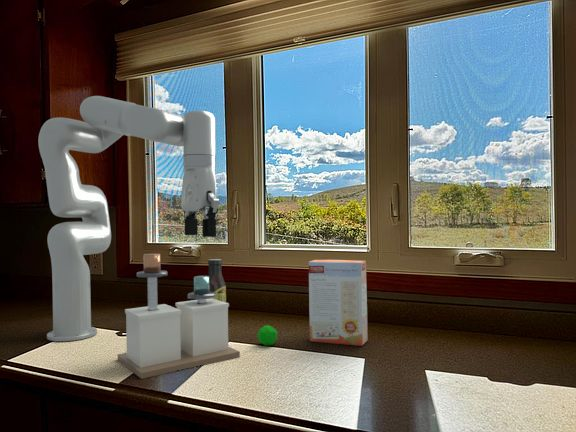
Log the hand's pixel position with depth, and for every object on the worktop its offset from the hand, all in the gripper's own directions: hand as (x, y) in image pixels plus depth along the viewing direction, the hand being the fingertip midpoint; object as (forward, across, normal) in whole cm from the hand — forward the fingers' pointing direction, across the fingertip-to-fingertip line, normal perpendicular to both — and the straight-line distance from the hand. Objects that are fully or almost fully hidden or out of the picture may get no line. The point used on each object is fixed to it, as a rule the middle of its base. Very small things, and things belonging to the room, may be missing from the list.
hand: (199, 235), depth 110 cm
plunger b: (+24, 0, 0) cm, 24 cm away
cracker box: (+28, +14, +32) cm, 45 cm away
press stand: (+28, 0, -6) cm, 29 cm away
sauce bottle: (+28, -22, +15) cm, 39 cm away
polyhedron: (+28, +4, +16) cm, 33 cm away
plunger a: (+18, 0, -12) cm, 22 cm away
